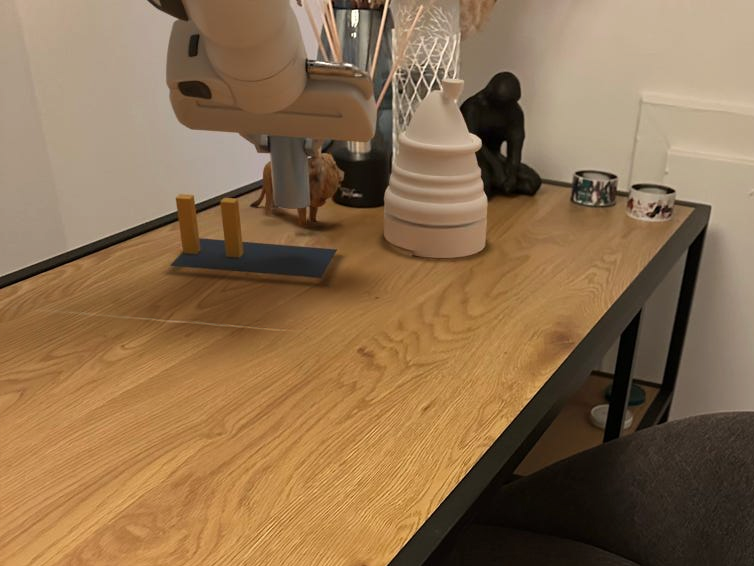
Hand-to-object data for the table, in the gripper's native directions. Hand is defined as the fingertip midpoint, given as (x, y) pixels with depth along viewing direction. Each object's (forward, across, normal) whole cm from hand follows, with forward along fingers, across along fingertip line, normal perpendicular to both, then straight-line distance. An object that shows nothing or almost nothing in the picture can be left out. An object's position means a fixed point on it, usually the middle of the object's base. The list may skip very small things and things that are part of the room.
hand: (289, 149), depth 101 cm
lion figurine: (+20, +3, -2) cm, 20 cm away
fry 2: (+8, +7, +9) cm, 14 cm away
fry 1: (+8, +12, +9) cm, 17 cm away
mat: (+8, +5, +9) cm, 13 cm away
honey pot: (+18, -15, 0) cm, 23 cm away
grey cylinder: (+3, 0, +4) cm, 5 cm away
